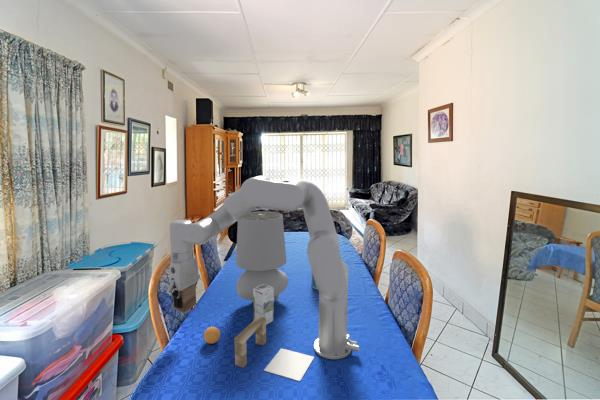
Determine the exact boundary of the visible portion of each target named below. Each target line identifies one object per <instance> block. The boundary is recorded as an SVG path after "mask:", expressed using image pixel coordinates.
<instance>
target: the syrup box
mask: <svg viewBox="0 0 600 400" xmlns="http://www.w3.org/2000/svg"><path fill="white" fill-rule="evenodd" d="M274 302H275V300H274V288H273V287H271V286H269V285H267V284H262V285H259V286H257V287H255V288H253V302H252V303H253V304H252V305H253V306H252V307H253V314H252V315H253V321H254V320H255V319H256V318H257V317H258V316H259V317H263V318H266V326H268V325H269V324H271V323H273V322H274V318H275V317H274V313H275V312H274V309H275V307H274V306H275V305H274Z"/></svg>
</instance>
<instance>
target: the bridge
mask: <svg viewBox="0 0 600 400" xmlns="http://www.w3.org/2000/svg"><path fill="white" fill-rule="evenodd" d="M254 334H255V344H256V345H260V346H264V345H265V344H266V343H267V325H266V318H263V317H259V316H258V317H257V318H256V319H255V320H254V319H253V321H252V322H251V323H250V324H248V325H247V326H246V327H245V328H244V329H243V330H242V331H240V332H239V333H238V335H236V336H235V337H234V339H233V340H234V341H233V342H234V364H235V365H234V366H237V367H240V368H245V367H246V366H247V364H248V359H247V358H248V356H247V355H248V353H247V352H248V351H247V348H248V347H247V341H248V340H249V338H251V337H252V336H253V335H254Z"/></svg>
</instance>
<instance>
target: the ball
mask: <svg viewBox="0 0 600 400" xmlns="http://www.w3.org/2000/svg"><path fill="white" fill-rule="evenodd" d="M220 337H221V332H220V329H218V328H217V327H216V326H209V327H207V328H206V330H205V331H204V333H203V339H204V341H205V343H207V344H209V345H210V344H215V343H217V342H218V341H219V340H220Z"/></svg>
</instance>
